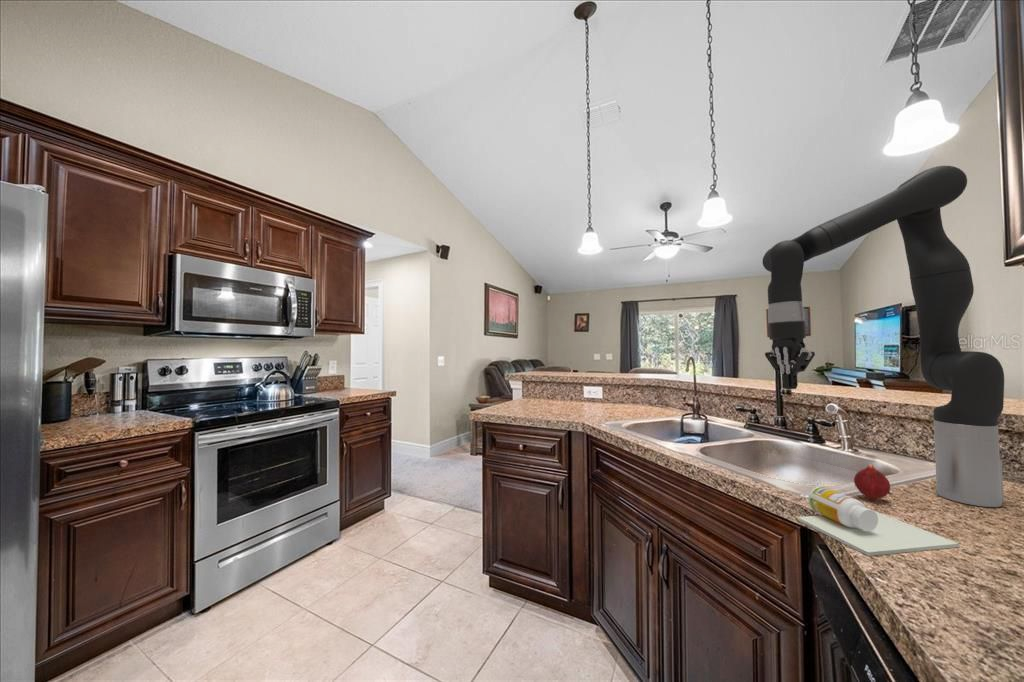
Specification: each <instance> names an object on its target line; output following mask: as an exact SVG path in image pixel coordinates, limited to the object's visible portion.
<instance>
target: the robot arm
mask: <svg viewBox="0 0 1024 682" xmlns="http://www.w3.org/2000/svg"><path fill="white" fill-rule="evenodd" d="M967 186H968V177H967V174H966V172H964V171H963V170H962V169H961V168H959V167H956V166H953V165H938V166H934V167H931V168H927V169H925V170H923V171H921V172H919V173H918V174H916V175H914V176H913V177H911V178H909V179H907V180H906V181H904V182H903V183H901V184H900V185H898V186H897V188H896V189H894V190H893V191H891V192H889V193H887V194H886V195H883V196H881V197H880V198H877V199H875V200H872V201H871V202H869V203H866V204H864V205H862V206H860V207H857V208H855V209H853V210H850V211H848V212H845V213H843V214H841V215H838V216H836V217H833V218H832V219H829V220H827V221H825V222H823V223H821V224H819V225H816V226H814V227H812V228H811V229H808V230H807V231H805V232H804V233H802V234H801V235H799V236H797V237H795V238H793V239H789V240H788V239H787V240H782V241H780V242H777V243H776V244H775V245H773V246H772V247H771V248H769V249H768V250H767V251H766V252H765V254H764V255H763V256H762V266H763V268H764V269H765V270H766V271H768V272H770V274H771V275H770V281H769V282H770V283H769V284H768V286H767V302H768V303H767V304H768V305H767V306H768V309H767V322H768V337H769V340H771V341H772V344H771V349H770V350H769V351H767V352H764V356H765V358H766V359H767V361H768V362H769V363H770V365H771V366H772V367H773V370H774V371H775V372H779V373H780V374H781V375H782V384H783V388H784V389H786V390H797V388H798V374H799V373H801V372H805V371H806V369H807V368H808V366H809V365H810V363H811V362H812V360H813V358H815V356H816V352H814V351H810V350H808V349H807V348H806V343H805V342H804V339H806V337H807V336H806V335H807V333H806V332H807V331H806V319H805V317H806V316H805V308H804V305H803V291H802V278H803V272H804V265H805V262H807V261H808V260H810V259H814V258H815V257H818V256H821V255H824V254H827V253H829V252H832V251H834V250H836V249H838V248H840V247H843V246H845V245H847V244H849V243H851V242H853V241H856V240H857V239H859V238H862V237H864V236H865V235H867V234H870V233H871V232H873V231H875V230H878V229H879V228H881V227H883V226H885V225H888V224H890V223H892V222H894V221H897V224H898V227H899V230H900V234H901V236H902V240H903V244H904V250H905V256H906V261H907V267H908V271H909V279H910V286H911V290H912V295H913V300H914V303H915V310H916V318H917V325H918V331H919V332H918V333H919V356H920V357H919V359H920V360H919V361H920V369H921V374H922V376H923V379H924V381H925V382H927V384H928V385H929V386H931V387H932V388H934V389H938V390H943V391H949V392H950V391H951V396H950V400H949V402H948V403H946V404H944V405H939V406H936V407H935V408H933V411H932V412H933V413H932V415H933V417H932V418H933V434H934V455H935V457H934V458H935V459H934V460H935V482H936V483H935V484H936V494H937V495H938V496H940V497H942V498H944V499H947V500H950V501H953V502H957V503H962V504H966V505H969V506H970V505H971V506H977V507H984V508H986V507H987V508H999V507H1002V505H1003V504H1004V502H1005V498H1004V497H1005V496H1004V495H1005V494H1004V479H1003V477H1004V473H1003V460H1002V459H1001V456H1000V455H1001V454H1000V439H999V438H1000V437H999V418H1000V416H1001V415H1002V413H1003V409H1004V405H1005V404H1004V403H1005V398H1004V397H1005V395H1004V394H1005V373H1004V368H1003V366H1002V364H1001V362H1000V361H999V359H998V358H997V357H995V356H993V354H991V353H988V352H985V351H984V352H983V351H971V350H970V351H967V350H964V351H962V348H961V345H960V339H959V327H960V324H961V321H962V319H963V317H964V316H965V313H966V311H967V310H968V307H969V305H970V304H971V301H972V299H973V297H974V292H975V291H974V281H973V277H972V271H971V266H970V263H969V261H968V259H967V257H966V256H965V255H964V253H963V252H962V251H961V250H960V249H959V248H958V247H957V246H956V244H954V242H952V241H951V239H950V238H949V237H948V236H947V234H946V232H945V230H944V225H943V220H942V214H941V213H942V212H941V208H943V207H946V206H947V205H949V204H952V202H954V201H955V200H957V199H958V198H959V197H960V196H961V195H962V194H963V193H964V192H965V190H966V187H967Z"/></svg>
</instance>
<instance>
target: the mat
mask: <svg viewBox="0 0 1024 682" xmlns="http://www.w3.org/2000/svg"><path fill="white" fill-rule="evenodd" d="M873 511H874V512H875V513H876V514H877V516H878V524H877V526H876V528H875V529H874V530H872V531H864V530H862V529H859V528H850V527H847V526H844V525H842V524H840V523H838V522H836V521H834V520H832V519H830V518H828V517H826V516H823V515H821V514H820V515H810V516H798V517H797V521H799V522H800V523H802V524H804V525H806V526H808V527H809V528H812V529H814V530H816V531H818V532H820V533H822V534H824V535H825V536H828V537H830V538H832V539H833V540H836V541H838V542H840V543H841V544H843V545H845V546H848V547H849V548H851V549H853V550H855V551H858V552H859V553H861V554H864V555H865V556H868V557H872V556H881V555H891V554H901V553H912V552H913V553H915V552H923V551H924V552H925V551H934V550H935V551H936V550H942V549H943V550H944V549H951V548H952V549H955V548H959V547H960V544H959V543H958V542H957V541H953V540H951V539H947V538H945V537H942V536H940V535H938V534H935V533H933V532H930V531H927V530H925V529H922V528H920V527H918V526H915V525H912V524H909V523H907V522H905V521H901V520H899V519H896V518H895V517H892V516H889V515H887V514H883V513H881V512H878V511H876V510H873Z"/></svg>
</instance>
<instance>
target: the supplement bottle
mask: <svg viewBox="0 0 1024 682" xmlns="http://www.w3.org/2000/svg"><path fill="white" fill-rule="evenodd" d="M807 499H808V500H807V502H808V505H809V507H810V509H811V510H812V511H814V512H816V513H818V514H820V515H823V516H826V517H828V518H830V519H832V520H834V521H836V522H838V523H840V524H842V525H844V526H847V527H850V528H859V529H862V530H864V531H872V530H874V529H875V528H876V526H877V524H878V516H877V514H876V513H875V512H874V511H875V510H873V509H870V508H868V507H867V506H865V505H864V503H862V502H861V501H860V500H858V499H856V498H853V497H851V496H848V495H845V494H843V493H840V492H838V491H835V490H832V489H830V488H827V487H824V486H816V487H814V488H812V489H811V490H810V492H809V494H808V497H807Z"/></svg>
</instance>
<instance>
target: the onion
mask: <svg viewBox="0 0 1024 682" xmlns="http://www.w3.org/2000/svg"><path fill="white" fill-rule="evenodd" d="M853 482H854V485H855V487H856V489H857V490H858V492H860V493H861V494H862V495H863V496H864V497H866V498H867V499H868V500H870V501H877V500H878V499H882V498H884V497H887V495H888V494H889V493H890V490H891V483H890V481H889V478H887V476H886V475H884V473H883V472H881V471H880V470H878V469H876V468H875V466H874V465H873V464H872V463H869V464H868V465H867V467H866V468H862V469H861V470H859V471H858V472H856V474H855V475H854V479H853Z"/></svg>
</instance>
